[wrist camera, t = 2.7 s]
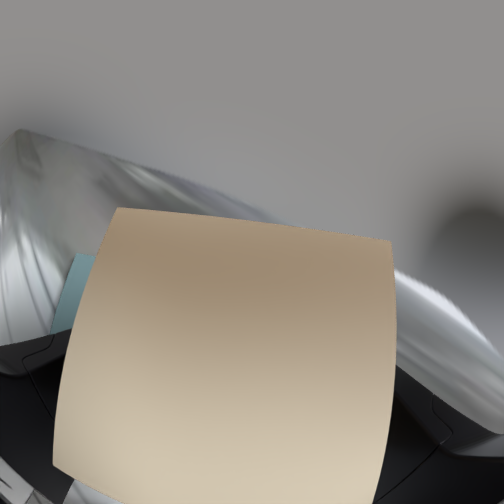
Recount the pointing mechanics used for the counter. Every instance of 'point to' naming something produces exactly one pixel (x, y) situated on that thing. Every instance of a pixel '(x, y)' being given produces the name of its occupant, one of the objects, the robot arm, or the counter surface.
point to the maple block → (229, 364)
